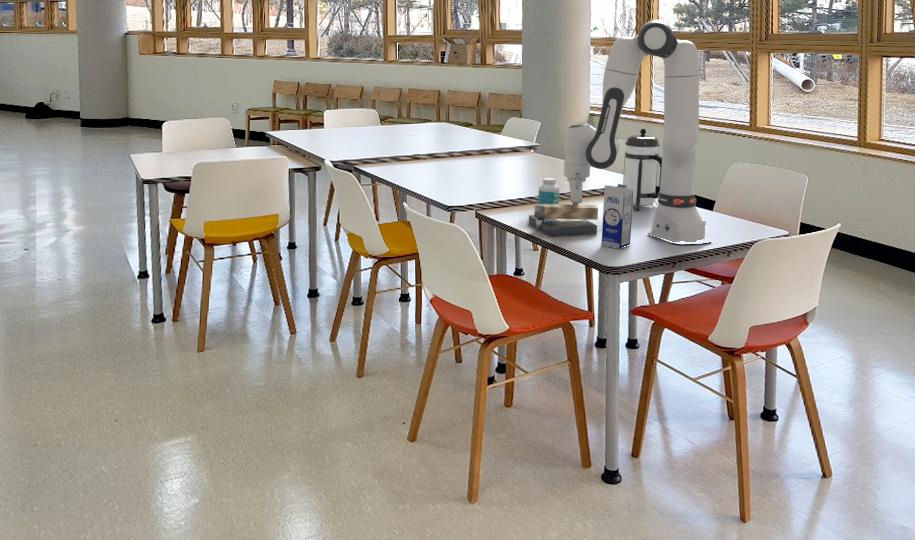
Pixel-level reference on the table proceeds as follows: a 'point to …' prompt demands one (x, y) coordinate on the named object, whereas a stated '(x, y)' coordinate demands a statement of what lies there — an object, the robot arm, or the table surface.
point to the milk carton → (617, 216)
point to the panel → (563, 226)
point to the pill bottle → (548, 192)
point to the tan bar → (566, 211)
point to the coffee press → (642, 168)
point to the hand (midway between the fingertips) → (575, 210)
